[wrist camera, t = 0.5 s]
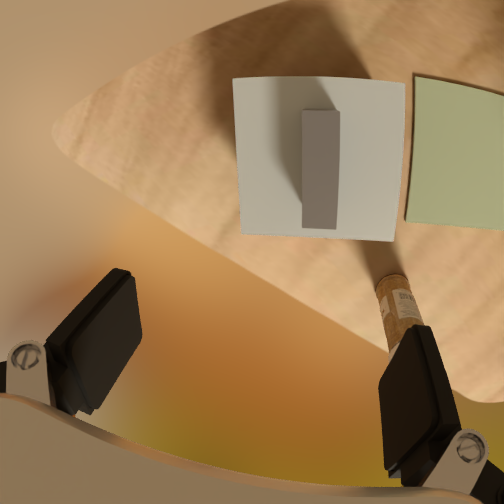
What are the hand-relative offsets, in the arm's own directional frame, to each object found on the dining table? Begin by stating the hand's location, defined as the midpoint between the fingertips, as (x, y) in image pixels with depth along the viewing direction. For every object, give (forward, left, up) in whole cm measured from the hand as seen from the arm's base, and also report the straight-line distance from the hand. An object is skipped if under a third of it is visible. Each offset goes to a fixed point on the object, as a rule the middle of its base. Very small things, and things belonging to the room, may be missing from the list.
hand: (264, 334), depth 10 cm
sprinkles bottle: (-12, +15, -26) cm, 32 cm away
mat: (-20, -2, -26) cm, 33 cm away
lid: (-2, -2, -19) cm, 20 cm away
